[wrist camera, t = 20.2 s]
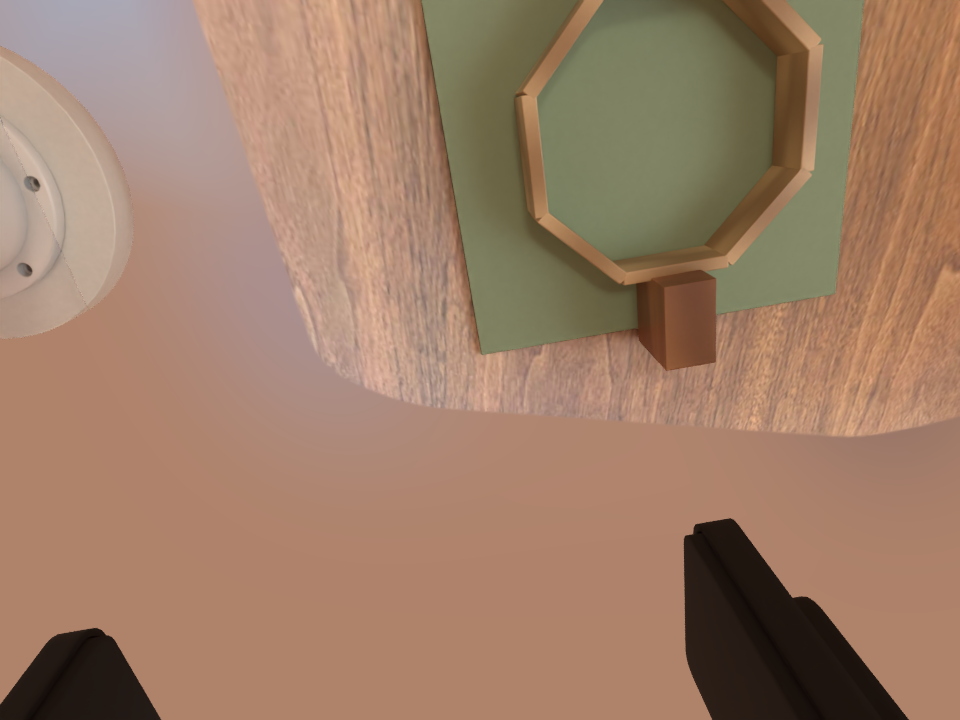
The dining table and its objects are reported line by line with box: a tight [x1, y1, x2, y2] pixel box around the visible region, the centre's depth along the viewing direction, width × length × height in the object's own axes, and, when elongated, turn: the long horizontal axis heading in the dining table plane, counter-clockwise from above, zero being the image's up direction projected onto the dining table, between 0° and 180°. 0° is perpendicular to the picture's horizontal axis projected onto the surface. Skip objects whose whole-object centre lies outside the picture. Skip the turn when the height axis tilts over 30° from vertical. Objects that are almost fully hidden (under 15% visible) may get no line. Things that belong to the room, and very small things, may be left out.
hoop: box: [514, 0, 824, 371], centre depth 32 cm, size 16×21×5 cm
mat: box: [421, 0, 864, 355], centre depth 33 cm, size 24×24×1 cm
